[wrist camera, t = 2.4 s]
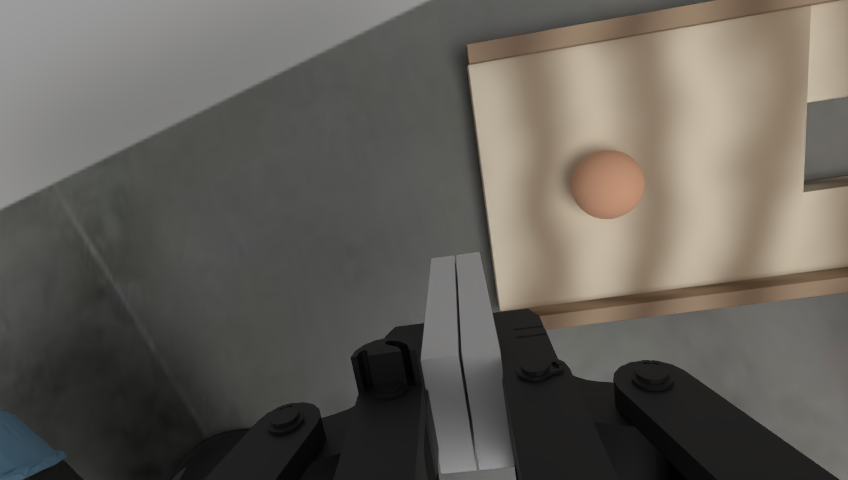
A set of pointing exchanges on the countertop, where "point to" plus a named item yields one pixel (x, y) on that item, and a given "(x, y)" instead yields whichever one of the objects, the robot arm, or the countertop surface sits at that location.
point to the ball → (608, 184)
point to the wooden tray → (663, 159)
